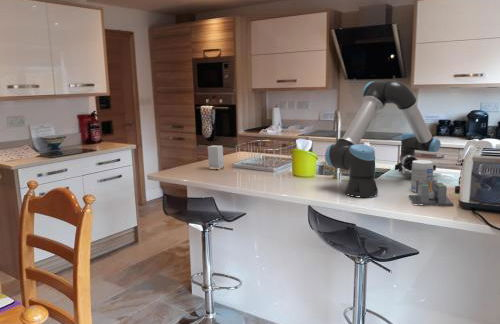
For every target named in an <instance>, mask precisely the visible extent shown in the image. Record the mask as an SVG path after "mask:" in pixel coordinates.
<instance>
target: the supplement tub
mask: <svg viewBox="0 0 500 324" xmlns="http://www.w3.org/2000/svg"><path fill="white" fill-rule="evenodd" d="M433 165H434V162H433V161H432V160H426V159H425V160H424V159H417V160H415V161H412V171H411V180H410V181H411V183H410V190H411V191H412V192H414V193H415V189H416V179H431V180H434V171H433Z"/></svg>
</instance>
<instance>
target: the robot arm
mask: <svg viewBox="0 0 500 324" xmlns="http://www.w3.org/2000/svg"><path fill="white" fill-rule="evenodd" d="M386 104H393V105H395V106H396V107H397V108H398V110H400V111H402V114H403V115H404V117H405V119H406V121H407V123H408V125H409V127H410V129H411V131H412V132H410V131H409V132H403V133H402V134H401V139H400V155H399V161H400V162H399V163H397V164H395V165H394V170H395V171H397V170H398V172H399V173H401V172H402V174H405V173H406V170H407V171H411V172H412V161H415V160H418V159H417V158H416V157H415V152H416V151H420V152H425V153H426V152H427V153H437V152H438V151H439V150H440V149H441V140H440V139H438V138H434V136H433V135H432V133H431V131H430V129H429V127H428V125H427V123H426V121H425V119H424V117H423V115H422V113H421V111H420V109H419V107H418V105H417V98H416V96H415V94H414V93H413V91H412V90H411V88H410V87H408V86H407V85H406V84H404V83H403V82H402V81H399V80H393V79H392V80H373V81H369V82H368V83H366V84H365V86H364V87H363V89H362V104H361V106H360V108H359V109H358V111H357V113H356V115H355V116H354V118H353V119H352V121H351V123H350V125H349V126H348V128H347V129H346V131H345V132H344V135H343V136H342V137H340V138H337V141H336V142H335V143H333V144H330V145H328V147H327V148H326V150H325V156H324V157H325V161H326V163H327V165H328V166H330V167H331V168H334V169H338V170H339V169H340V170H345V171H349V173H348V174H349V176H348V177H349V178H348V181H347V183H346V187H345V194H346V193H347V194H349V195H353V196H360V197H370V196H375V195H377V194H378V193H379V189H378V186H377V184H376V180H375V173H376V172H375V170H376V169H375V168H376V166H375V165H376V164H375V163H376V152H375V149H374V148H373V147H371V146H369V145H366V144H365V145H364V144H360V142H361V141H362V138H364V135H365V133H366V132H367V130H368V128H369V126H370V125H371V123H372V122H373V120H374V118H375V116H377V114H378V112H379V111H382V110H383V109H384V108H385V106H386ZM434 171H437V166H436V165H435V164H433V172H434ZM378 195H379V194H378ZM378 195H377V196H378ZM375 197H376V196H375ZM370 198H371V197H370Z"/></svg>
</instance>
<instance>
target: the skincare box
mask: <svg viewBox="0 0 500 324" xmlns="http://www.w3.org/2000/svg"><path fill="white" fill-rule="evenodd" d="M207 157H208V168H209V167H214V168H220V167H223V166H224V167H225V160H224V147H223V145H213V144H212V145H210V146H209V145H208V146H207Z"/></svg>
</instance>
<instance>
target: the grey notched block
mask: <svg viewBox="0 0 500 324" xmlns="http://www.w3.org/2000/svg"><path fill="white" fill-rule="evenodd" d="M447 189H448V188H447V186H446V185H445V184H444V183H442V182H437V183H435V186H434V199H429V186H428V185H427V184H426V183H418V192H417V193H416V194H417V195H415V194H409V195H408V199H409V198H410V199H409V201H410V200H411V201H412V202H411V201H410V202H411V204H412V203H413V204H423V205H422V206H424V205H439V206H438V207H454V202H453V201H451V200H450V198H449V197H448V196H447ZM413 204H412V205H413ZM440 205H441V206H440Z"/></svg>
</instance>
